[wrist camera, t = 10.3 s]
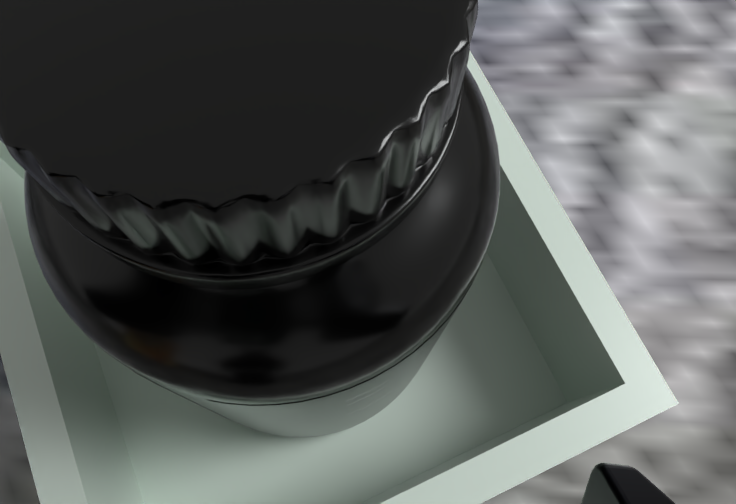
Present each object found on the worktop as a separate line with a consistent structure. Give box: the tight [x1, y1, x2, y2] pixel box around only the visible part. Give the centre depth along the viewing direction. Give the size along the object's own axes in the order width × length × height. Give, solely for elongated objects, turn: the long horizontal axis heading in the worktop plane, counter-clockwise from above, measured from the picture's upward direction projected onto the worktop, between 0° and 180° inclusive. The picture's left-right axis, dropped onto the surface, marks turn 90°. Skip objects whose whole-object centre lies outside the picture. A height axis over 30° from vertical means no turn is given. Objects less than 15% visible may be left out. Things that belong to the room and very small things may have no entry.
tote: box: [0, 52, 679, 504], centre depth 16 cm, size 12×12×4 cm
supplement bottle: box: [0, 0, 500, 438], centre depth 11 cm, size 7×7×12 cm
